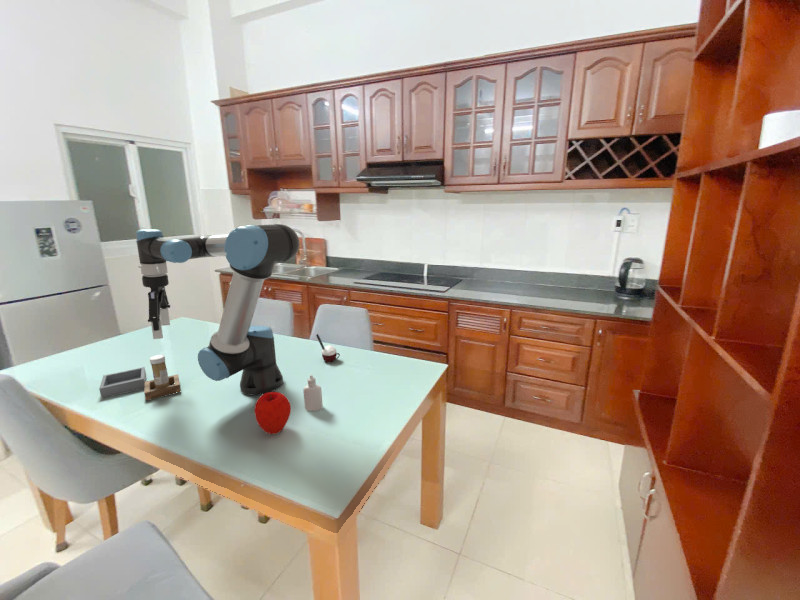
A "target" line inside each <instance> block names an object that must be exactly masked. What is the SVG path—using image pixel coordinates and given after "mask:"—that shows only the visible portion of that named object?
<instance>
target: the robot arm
mask: <svg viewBox="0 0 800 600" xmlns="http://www.w3.org/2000/svg"><path fill="white" fill-rule="evenodd" d="M135 235H136V236H135V237H136V240H135V243H136V245H137V246H136V247H137V253H138V258H139V263H140V264H139V265H138V266H137V267H138V268H139V269H140V270H141V271H140V273H141V274H142V276H141V282H142V285H143V287H145V288H148V289H149V288H150V291H149V292H148V293H147V297H148V319H147V322H148V323H151V324H150V325H151V331H152V339H153V340H158V339H163V338H164V335H163V329H162V328H163V326H170V325H171V321H170V315H169V314H170V313H169V312H170V311H169V309H170V308H171V304H170V301H169V299H168V296H167V291H166V287H168V286H169V276H168V265H167V262H169V263H174V264H176V263H178V264H182V263H186V262H187V261H189V260H194V259H201V258H202V259H203V258H215V257H216V258H217V257H225V259H226V260H227V262H228V263H229V268H230V269H231V271H233V272H232V273H233V274H232V277H231V280H230V285H229V288H228V292H227V295H226V296H227V297H226V299H225V303H224V306H223V312H222V316H221V318H220V323H219V326H218V331H216V332H214V333H213V334H212V335H211V337H210V340H209V344H208V346H206V347H203V348H201V349H200V350H199V351H198V353H197V361H198V365H199V367H200V370H202V372H203V374H204V375H205V376H207V378H209V379H210V380H212V381H216V382H219V381H220V382H221V381H222V380H224V379H225V380H226V379H229V377H232V376H234V375H236V374H238V373H239V372H242V373H241V377H240V382H239V387H240V392H241V393H243V394H244V395H247V396H260V395H263V394H265V393H268V392H276V390H278V389H280V388H281V387H282V386H283V385H284V378H283V377H284V376H283V374H282V372H281V370H280V367H279V366H278V364H277V357H276V347H275V337H274V334H273V333H274V332H273V329H272V328H271V327H269V326H265V325H251V324H252V321H253V318H254V314H255V312H256V308H257V304H258V302H259V299H260V295H261V292H262V288H263V285H264V281H265V280H268V279H270V278H271V277H272V276H273V275H272V274H273V271H274V268H275V265H277V264H281V263H286V262H288V261H291V260H292V259H293V258H295V257H296V255H297V254H298V252H299V250H300V244H301V243H300V238H299V236H298V234H297V233H296V231H295V230H294V229H293V228H291V227H290V226H288V225H285V224H282V223H281V224H280V223H274V224H258V225H256V224H247V225H241V226H238V227H236V228H234V229H232V230H231V231H230V232H229V233H228V234H215V235H214V234H213V235H212V234H209V235H202V236H187V237H175V238H174V237H172V238H171V237H170V238H169V237H165V236H164V234H163V231H162V230H160V229H151V228H150V229H149V228H147V229H146V228H145V229H143V228H142V229H139V230H136V232H135ZM141 274H140V275H141Z"/></svg>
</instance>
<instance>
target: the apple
mask: <svg viewBox="0 0 800 600" xmlns="http://www.w3.org/2000/svg"><path fill="white" fill-rule="evenodd" d="M291 412H292V406H291V403H290V401H289V398H287V396H286V395H285V394H284V393H281V392H278V391H272V392H268V393H265V394H262V395H261V396H260V395H259V397H258V399H257V400H256V402H255V405H254V417H255V420H256V423H257V425H258V427H260V428H261V430H262V431H264V432H265V433H267V434H268V435H277V434H279V433H281V432H282V430H283V429H284V428H285V427H286V424H288V423H287V422H288V421H289V419H290V416H291Z"/></svg>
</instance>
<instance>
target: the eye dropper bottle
mask: <svg viewBox="0 0 800 600" xmlns="http://www.w3.org/2000/svg"><path fill="white" fill-rule="evenodd" d="M322 394H323V393H322V387H321V385H319V384H317V382H316V378H315V377H314V375H313V374H310V375H309V378H308V379H307V385H305V386H304V387H303V402H304V409H305V410H306V411H309V412H317V411H321V410H322V408H323V406H324V405H323V395H322Z"/></svg>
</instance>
